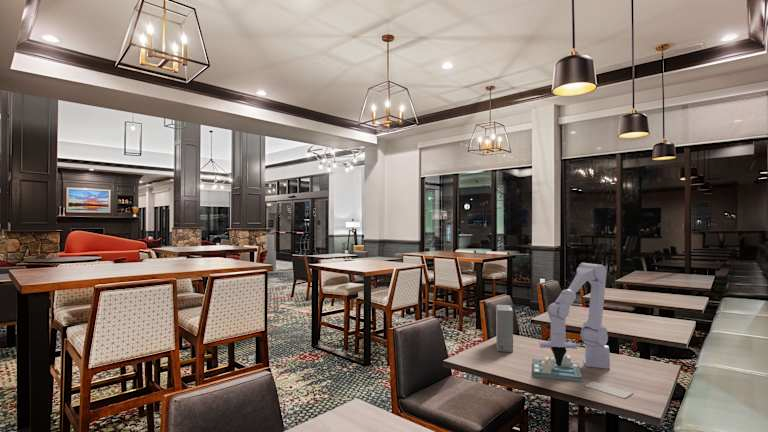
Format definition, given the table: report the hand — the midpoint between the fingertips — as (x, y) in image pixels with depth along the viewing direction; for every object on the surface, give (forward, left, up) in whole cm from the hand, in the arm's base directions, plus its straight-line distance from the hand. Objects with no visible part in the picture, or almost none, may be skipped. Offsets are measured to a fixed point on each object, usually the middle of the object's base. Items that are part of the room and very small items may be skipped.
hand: (558, 365), depth 173 cm
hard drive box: (+23, -28, -3) cm, 36 cm away
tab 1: (+3, 0, -2) cm, 4 cm away
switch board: (+1, 0, -3) cm, 3 cm away
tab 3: (-3, -6, -2) cm, 7 cm away
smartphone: (-16, +14, -3) cm, 22 cm away
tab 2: (+5, +6, -2) cm, 8 cm away
